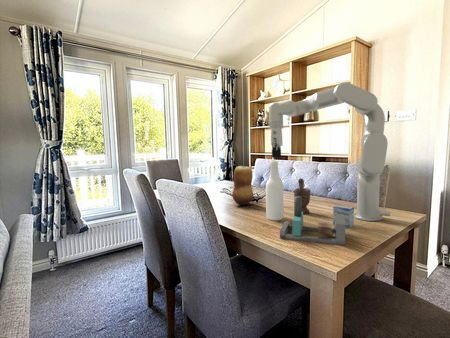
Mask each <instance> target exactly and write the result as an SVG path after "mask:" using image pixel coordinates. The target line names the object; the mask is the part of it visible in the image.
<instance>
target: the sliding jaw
mask: <svg viewBox="0 0 450 338" xmlns="http://www.w3.org/2000/svg"><path fill="white" fill-rule="evenodd" d="M293 197H294V196H293ZM293 206H294V207H293V212H294V213H293V214H294V215H293V218H292V222H291V223H292V224H291V225H292V229H291V230H292V233H291V235H294V236H302V231H303V230H302V227H303V226H304V214H303V212H302V197H300V196H295V197H294V199H293Z"/></svg>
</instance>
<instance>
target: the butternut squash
mask: <svg viewBox="0 0 450 338" xmlns="http://www.w3.org/2000/svg"><path fill="white" fill-rule="evenodd" d="M252 183H253V169H252V168H251V167H250V166H245V165H239V166H236V167H235V169H234V171H233V190H232V194H231V196H232V199H233V201H234V202H235V204H237V205H238V206H245V205H248V204H250V203H251V202H252V201H253V200H254V199H253V198H254V191H253V188H252Z"/></svg>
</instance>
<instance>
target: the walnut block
mask: <svg viewBox="0 0 450 338" xmlns="http://www.w3.org/2000/svg"><path fill="white" fill-rule="evenodd" d="M317 227H318V232H317V237H320V238H330V239H333V238H332V236H333V235H332V234H333V233H332V228H333V227H332V223H329V222H328V223H327V222H318V224H317Z"/></svg>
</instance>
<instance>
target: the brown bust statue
mask: <svg viewBox="0 0 450 338" xmlns="http://www.w3.org/2000/svg"><path fill="white" fill-rule="evenodd" d="M293 193H294V194H293V197H295V196H300V197H302V212H303V215H307V214H310V209H308V205H309V203H310V200H311V189H310V188H307V187H305V179H303V178H299V179H298V188H294V189H293Z"/></svg>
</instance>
